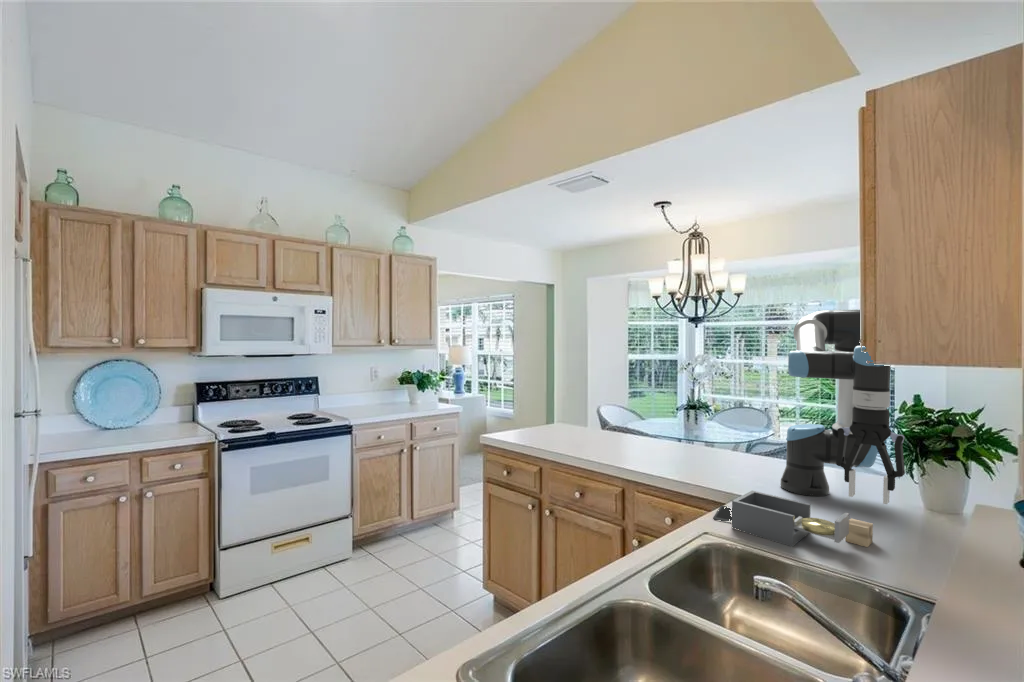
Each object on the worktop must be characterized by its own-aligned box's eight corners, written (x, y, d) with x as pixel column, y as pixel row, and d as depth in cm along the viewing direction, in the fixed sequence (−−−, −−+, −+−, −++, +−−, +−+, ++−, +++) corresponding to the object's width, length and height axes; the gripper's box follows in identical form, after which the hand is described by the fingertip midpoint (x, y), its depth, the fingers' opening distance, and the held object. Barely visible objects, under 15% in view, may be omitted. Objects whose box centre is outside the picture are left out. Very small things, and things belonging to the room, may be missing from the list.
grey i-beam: (791, 518, 142) (791, 500, 142) (848, 533, 131) (849, 513, 131) (779, 527, 136) (779, 507, 136) (838, 543, 125) (839, 522, 125)
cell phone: (712, 520, 149) (712, 518, 149) (721, 507, 161) (721, 504, 161) (738, 526, 145) (738, 523, 145) (745, 512, 157) (745, 509, 157)
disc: (840, 529, 132) (840, 523, 132) (831, 537, 127) (831, 531, 127) (807, 521, 138) (807, 515, 138) (797, 528, 133) (797, 522, 133)
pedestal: (850, 536, 138) (851, 518, 138) (872, 541, 134) (872, 523, 134) (845, 541, 134) (846, 523, 134) (867, 547, 131) (868, 528, 131)
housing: (751, 516, 152) (752, 490, 152) (809, 532, 140) (810, 504, 140) (731, 528, 143) (732, 500, 143) (792, 546, 131) (792, 516, 131)
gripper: (821, 404, 128) (820, 492, 129) (917, 414, 114) (915, 513, 115) (830, 401, 134) (828, 486, 134) (923, 410, 119) (921, 505, 120)
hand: (868, 498), depth 124 cm, fingers open, 6 cm apart
